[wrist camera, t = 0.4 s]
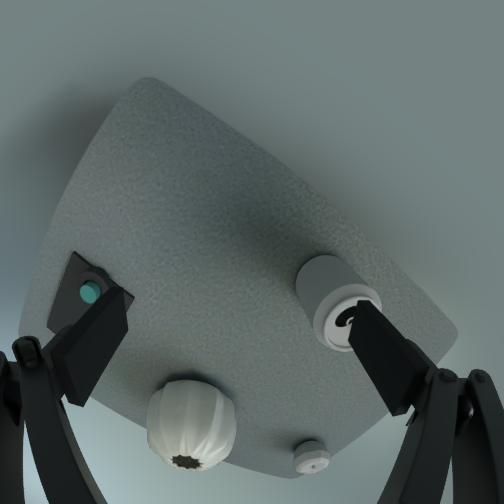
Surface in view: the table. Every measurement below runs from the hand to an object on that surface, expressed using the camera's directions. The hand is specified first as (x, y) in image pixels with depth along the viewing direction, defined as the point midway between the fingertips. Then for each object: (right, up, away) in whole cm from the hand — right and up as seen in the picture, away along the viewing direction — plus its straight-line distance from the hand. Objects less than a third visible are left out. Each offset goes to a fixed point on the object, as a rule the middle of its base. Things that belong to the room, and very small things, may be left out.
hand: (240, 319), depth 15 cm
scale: (-24, -6, +21) cm, 33 cm away
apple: (+12, -36, +32) cm, 50 cm away
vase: (-9, -20, +27) cm, 35 cm away
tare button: (-21, -2, +18) cm, 28 cm away
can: (+10, 0, +22) cm, 24 cm away
